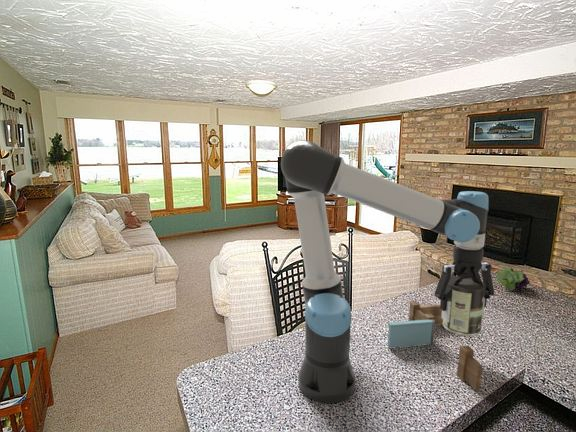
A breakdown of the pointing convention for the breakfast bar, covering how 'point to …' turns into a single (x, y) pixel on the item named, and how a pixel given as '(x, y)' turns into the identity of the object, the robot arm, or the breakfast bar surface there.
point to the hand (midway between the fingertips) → (461, 318)
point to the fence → (466, 363)
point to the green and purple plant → (512, 279)
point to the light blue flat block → (411, 333)
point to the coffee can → (466, 308)
